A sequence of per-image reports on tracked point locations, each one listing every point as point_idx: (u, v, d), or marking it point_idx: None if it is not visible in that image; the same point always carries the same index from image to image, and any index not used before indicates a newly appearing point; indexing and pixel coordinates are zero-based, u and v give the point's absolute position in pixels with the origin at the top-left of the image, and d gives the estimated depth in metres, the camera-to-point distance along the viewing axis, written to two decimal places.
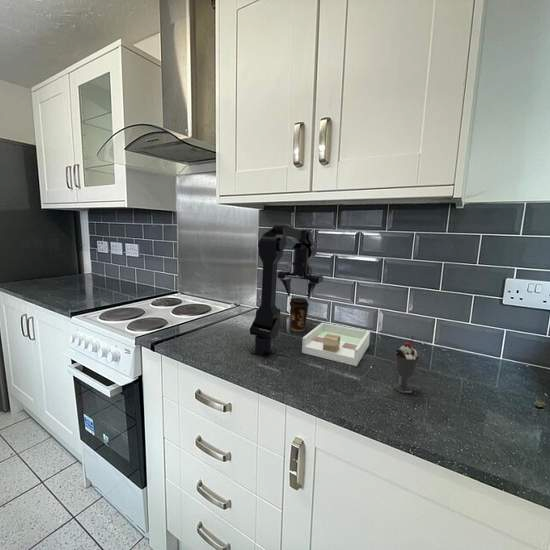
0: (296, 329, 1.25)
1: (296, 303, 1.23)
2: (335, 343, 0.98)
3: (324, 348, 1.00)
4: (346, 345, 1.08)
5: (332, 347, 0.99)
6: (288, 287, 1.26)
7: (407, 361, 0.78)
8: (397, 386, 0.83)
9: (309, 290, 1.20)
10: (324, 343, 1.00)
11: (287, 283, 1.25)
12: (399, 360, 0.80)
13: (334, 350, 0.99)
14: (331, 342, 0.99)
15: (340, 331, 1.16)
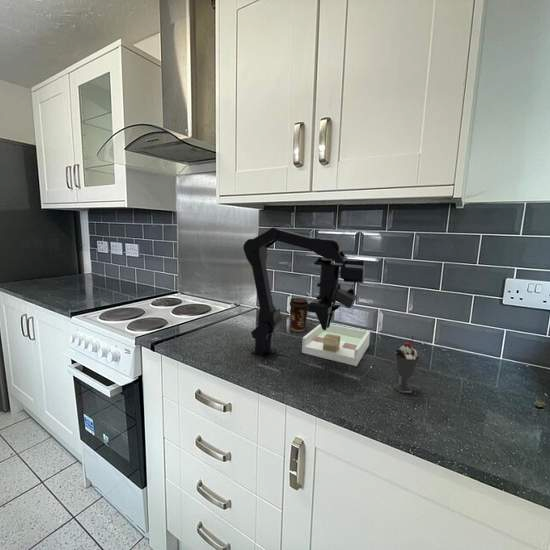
0: (296, 329, 1.25)
1: (296, 303, 1.23)
2: (335, 343, 0.98)
3: (324, 348, 1.00)
4: (346, 345, 1.08)
5: (332, 347, 0.99)
6: None
7: (407, 361, 0.78)
8: (397, 386, 0.83)
9: None
10: (324, 343, 1.00)
11: None
12: (399, 360, 0.80)
13: (334, 350, 0.99)
14: (331, 342, 0.99)
15: (340, 331, 1.16)
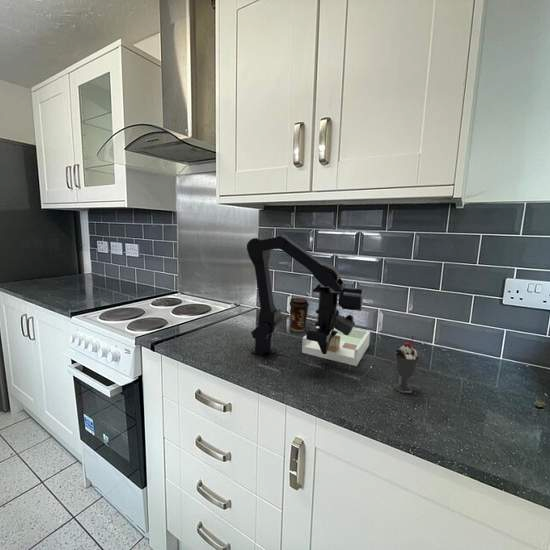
0: (296, 329, 1.25)
1: (296, 303, 1.23)
2: (335, 343, 0.98)
3: None
4: (346, 345, 1.08)
5: (332, 347, 0.99)
6: None
7: (407, 361, 0.78)
8: (397, 386, 0.83)
9: None
10: None
11: None
12: (399, 360, 0.80)
13: (334, 350, 0.99)
14: (331, 342, 0.99)
15: None
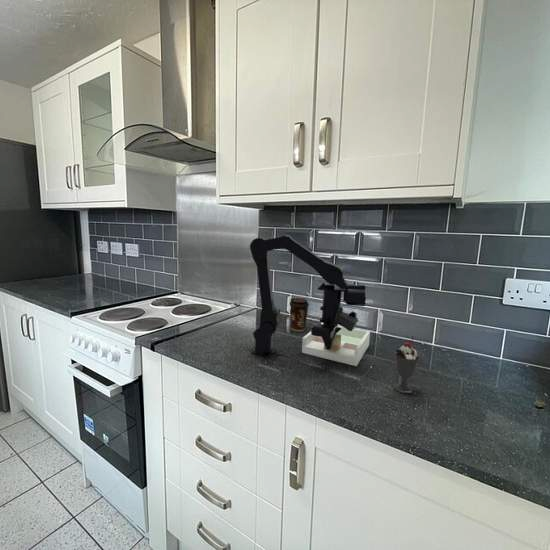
0: (296, 329, 1.25)
1: (296, 303, 1.23)
2: (336, 342, 0.99)
3: (325, 347, 1.01)
4: (346, 345, 1.08)
5: (333, 346, 1.00)
6: None
7: (407, 361, 0.78)
8: (397, 386, 0.83)
9: None
10: None
11: None
12: (399, 360, 0.80)
13: (335, 349, 0.99)
14: None
15: (340, 331, 1.16)
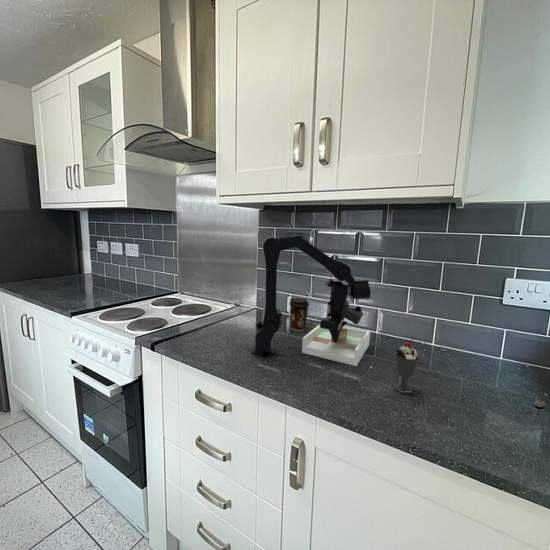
0: (296, 329, 1.25)
1: (296, 303, 1.23)
2: (343, 336, 1.05)
3: (332, 340, 1.07)
4: (346, 345, 1.08)
5: (340, 339, 1.06)
6: None
7: (407, 361, 0.78)
8: (397, 386, 0.83)
9: None
10: None
11: None
12: (399, 360, 0.80)
13: (342, 342, 1.06)
14: (339, 335, 1.06)
15: None
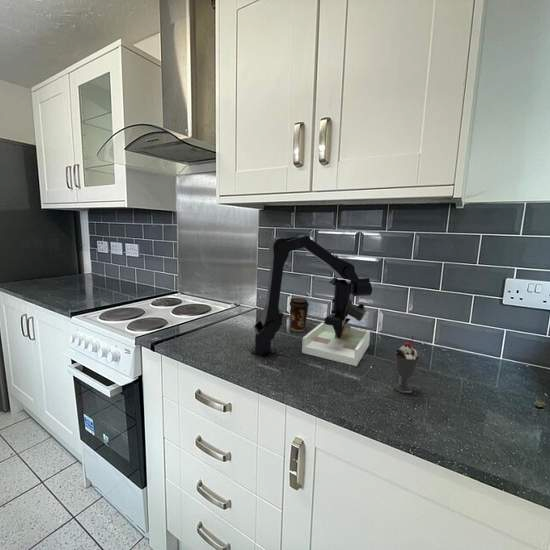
0: (296, 329, 1.25)
1: (296, 303, 1.23)
2: (346, 332, 1.09)
3: (336, 336, 1.12)
4: (346, 345, 1.08)
5: (343, 335, 1.10)
6: None
7: (407, 361, 0.78)
8: (397, 386, 0.83)
9: None
10: None
11: None
12: (399, 360, 0.80)
13: (345, 338, 1.10)
14: None
15: None
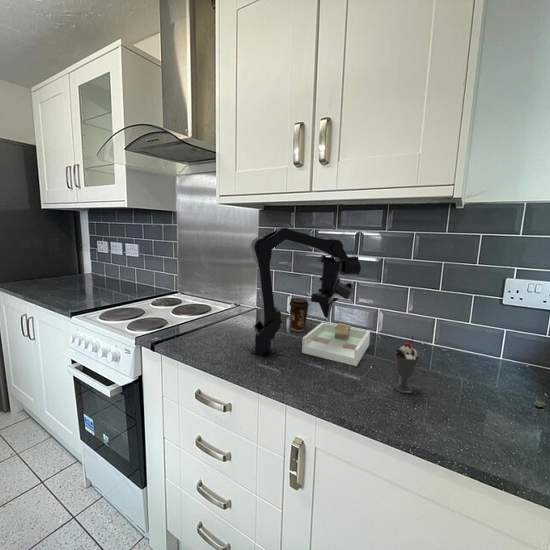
0: (296, 329, 1.25)
1: (296, 303, 1.23)
2: (346, 332, 1.09)
3: (336, 336, 1.12)
4: (346, 345, 1.08)
5: (343, 335, 1.10)
6: None
7: (407, 361, 0.78)
8: (397, 386, 0.83)
9: None
10: (336, 331, 1.11)
11: None
12: (399, 360, 0.80)
13: (345, 338, 1.10)
14: (342, 331, 1.10)
15: None
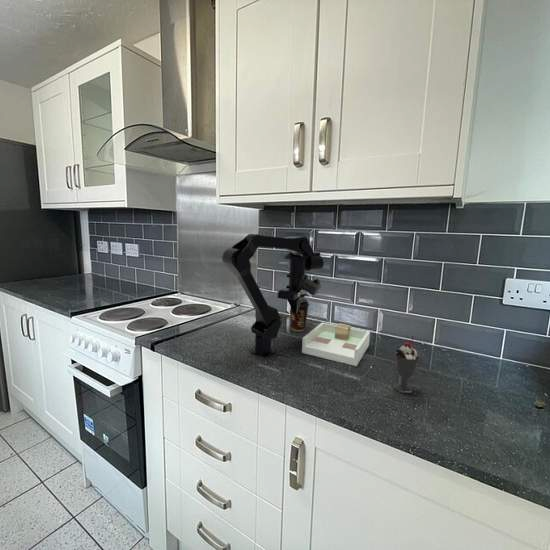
0: (296, 329, 1.25)
1: None
2: (346, 332, 1.09)
3: (336, 336, 1.12)
4: (346, 345, 1.08)
5: (343, 335, 1.10)
6: None
7: (407, 361, 0.78)
8: (397, 386, 0.83)
9: None
10: (336, 331, 1.11)
11: None
12: (399, 360, 0.80)
13: (345, 338, 1.10)
14: (342, 331, 1.10)
15: None
